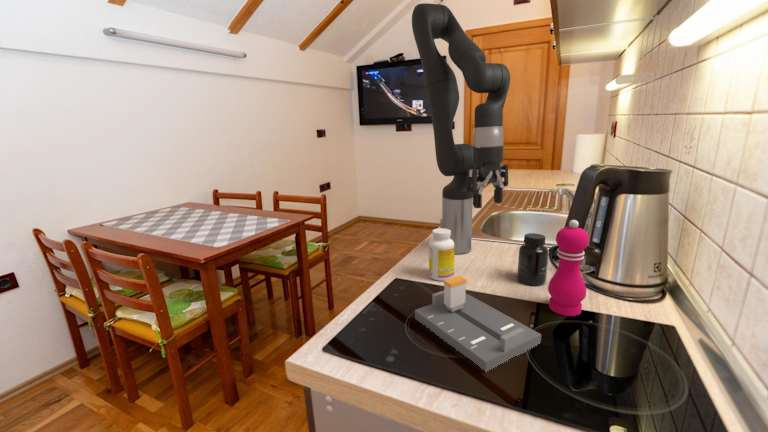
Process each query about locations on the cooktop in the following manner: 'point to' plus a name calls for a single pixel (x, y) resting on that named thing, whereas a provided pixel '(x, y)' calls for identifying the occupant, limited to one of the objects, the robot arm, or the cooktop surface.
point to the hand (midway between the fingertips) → (488, 205)
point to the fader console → (478, 331)
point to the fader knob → (454, 292)
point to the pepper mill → (569, 271)
